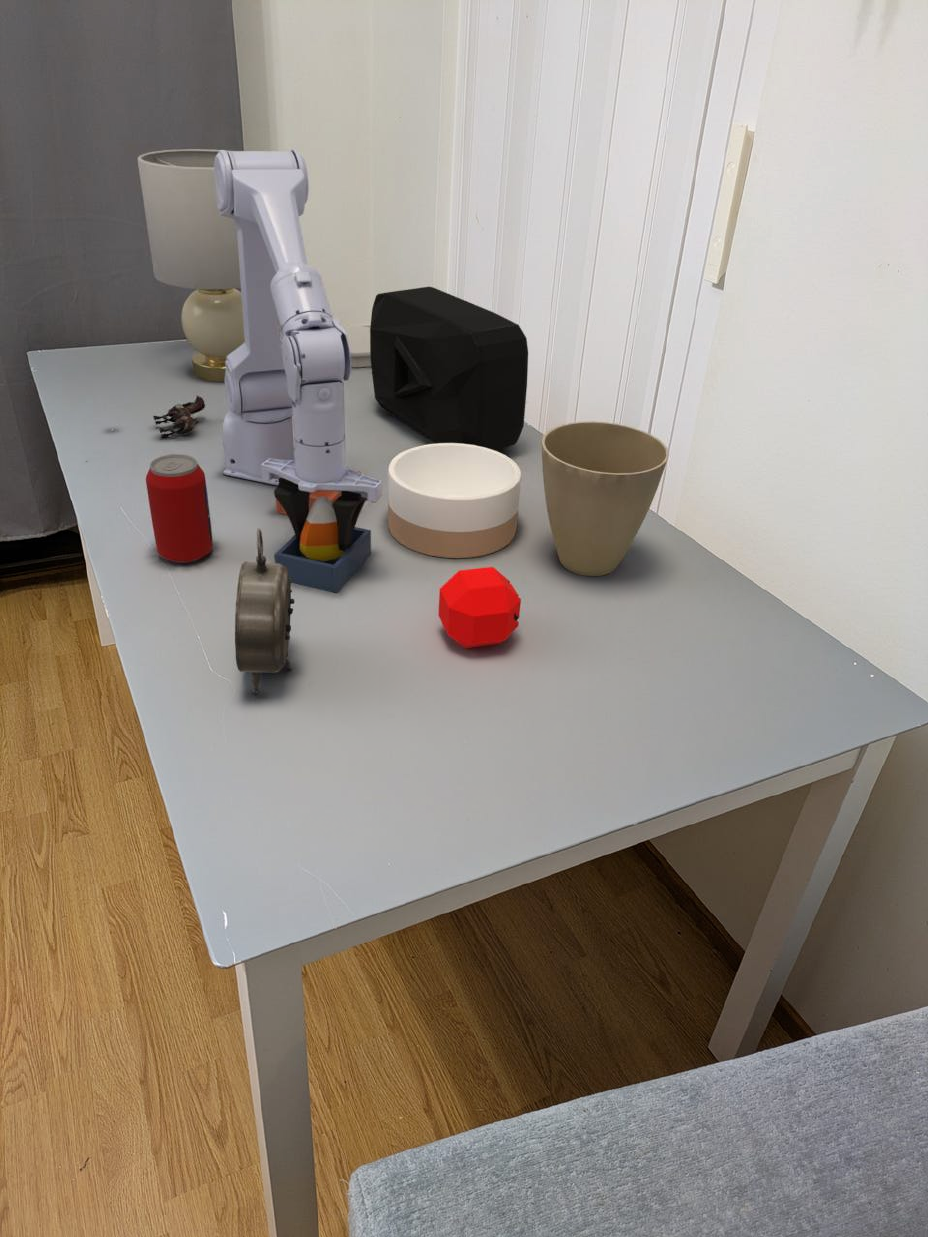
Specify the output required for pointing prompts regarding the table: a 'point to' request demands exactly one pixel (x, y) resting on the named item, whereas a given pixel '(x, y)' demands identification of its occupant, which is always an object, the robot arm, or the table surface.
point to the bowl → (453, 499)
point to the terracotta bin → (314, 498)
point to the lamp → (195, 252)
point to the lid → (359, 345)
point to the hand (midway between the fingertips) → (323, 542)
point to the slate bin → (325, 563)
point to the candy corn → (321, 532)
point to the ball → (479, 607)
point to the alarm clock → (262, 616)
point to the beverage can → (179, 508)
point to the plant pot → (598, 490)
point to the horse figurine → (181, 417)
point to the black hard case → (449, 367)
